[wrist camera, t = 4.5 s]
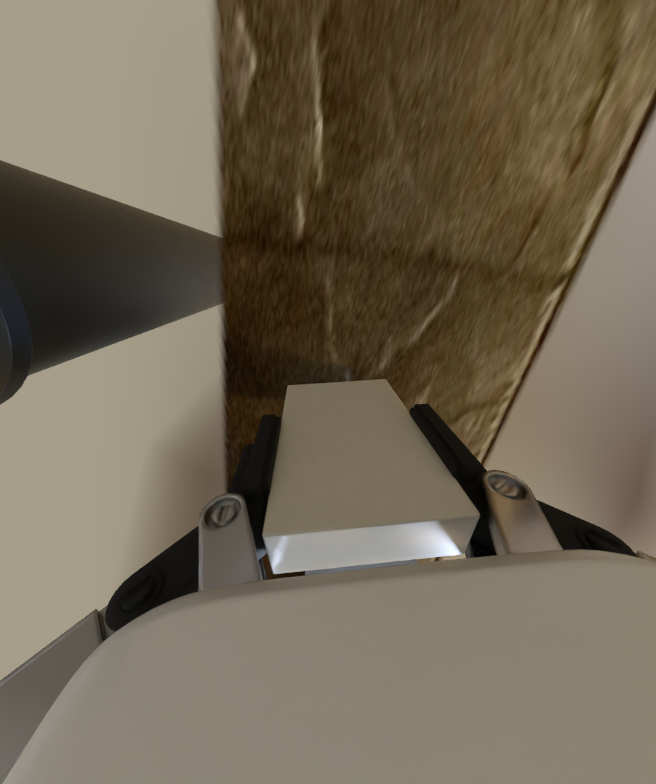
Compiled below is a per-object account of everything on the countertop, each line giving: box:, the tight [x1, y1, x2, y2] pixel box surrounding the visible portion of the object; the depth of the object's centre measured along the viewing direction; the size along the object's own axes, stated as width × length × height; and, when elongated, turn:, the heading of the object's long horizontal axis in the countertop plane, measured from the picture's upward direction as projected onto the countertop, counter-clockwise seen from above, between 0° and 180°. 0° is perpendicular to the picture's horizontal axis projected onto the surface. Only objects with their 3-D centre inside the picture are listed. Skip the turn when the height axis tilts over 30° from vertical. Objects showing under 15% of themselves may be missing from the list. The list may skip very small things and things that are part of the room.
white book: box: [262, 379, 480, 574], centre depth 11 cm, size 6×2×9 cm, turn 92°
